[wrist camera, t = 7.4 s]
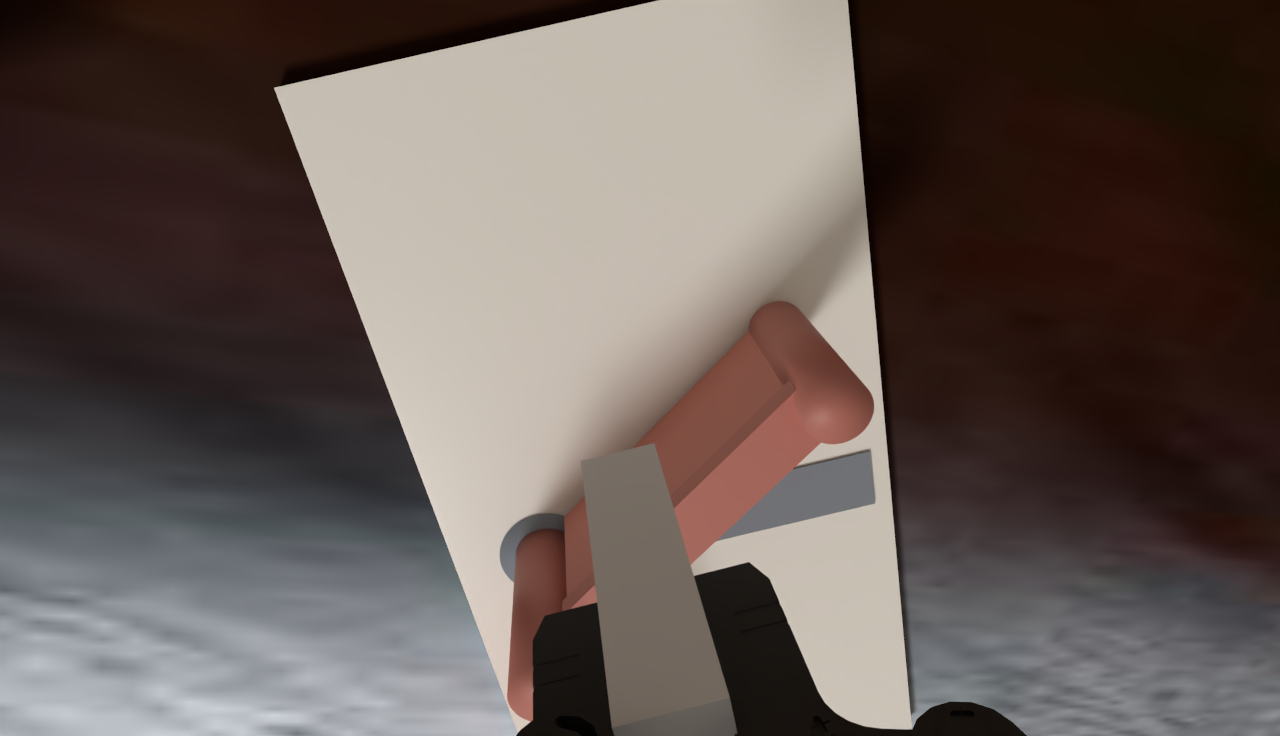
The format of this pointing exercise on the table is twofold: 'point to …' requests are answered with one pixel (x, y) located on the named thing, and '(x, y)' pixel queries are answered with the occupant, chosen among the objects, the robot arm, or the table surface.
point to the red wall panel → (740, 433)
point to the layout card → (618, 285)
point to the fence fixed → (533, 608)
